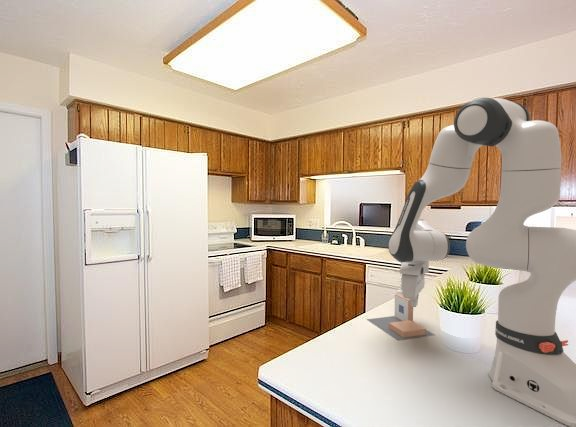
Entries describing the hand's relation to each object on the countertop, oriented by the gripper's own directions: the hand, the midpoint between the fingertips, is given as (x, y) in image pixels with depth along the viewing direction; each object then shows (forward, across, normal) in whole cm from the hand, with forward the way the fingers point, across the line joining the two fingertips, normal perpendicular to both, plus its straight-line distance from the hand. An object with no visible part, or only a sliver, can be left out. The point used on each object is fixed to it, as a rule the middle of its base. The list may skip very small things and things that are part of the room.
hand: (414, 306), depth 105 cm
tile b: (+9, -9, -5) cm, 13 cm away
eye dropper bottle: (+9, -23, -8) cm, 26 cm away
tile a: (+8, -2, +1) cm, 8 cm away
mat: (+9, -2, -5) cm, 11 cm away
